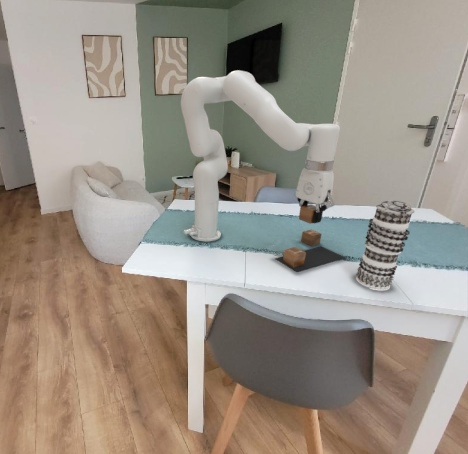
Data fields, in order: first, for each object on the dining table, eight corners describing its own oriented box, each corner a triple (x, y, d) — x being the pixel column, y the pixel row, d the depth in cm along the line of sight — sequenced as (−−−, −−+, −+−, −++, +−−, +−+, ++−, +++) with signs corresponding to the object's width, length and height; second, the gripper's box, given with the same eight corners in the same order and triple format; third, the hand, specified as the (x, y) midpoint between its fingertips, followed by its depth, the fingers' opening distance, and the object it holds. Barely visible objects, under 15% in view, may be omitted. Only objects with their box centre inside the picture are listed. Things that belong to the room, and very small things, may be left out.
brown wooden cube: (293, 267, 96) (295, 255, 94) (282, 261, 100) (284, 249, 98) (303, 264, 97) (306, 252, 95) (293, 258, 101) (295, 246, 99)
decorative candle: (348, 273, 92) (367, 198, 82) (381, 275, 90) (404, 198, 81) (362, 290, 84) (385, 208, 74) (398, 292, 82) (427, 209, 72)
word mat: (296, 273, 93) (297, 272, 93) (274, 259, 102) (274, 258, 102) (345, 258, 100) (346, 257, 100) (320, 247, 109) (321, 246, 109)
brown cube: (310, 223, 95) (312, 210, 93) (298, 219, 99) (300, 206, 97) (320, 221, 96) (323, 208, 95) (309, 216, 100) (311, 204, 99)
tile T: (310, 247, 109) (312, 235, 107) (300, 242, 113) (302, 231, 111) (319, 244, 111) (321, 233, 109) (309, 239, 115) (311, 229, 113)
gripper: (288, 162, 97) (281, 214, 104) (334, 172, 82) (323, 230, 89) (305, 160, 99) (298, 210, 106) (353, 168, 84) (340, 226, 92)
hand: (309, 219), depth 98 cm, fingers closed on brown cube, 4 cm apart
